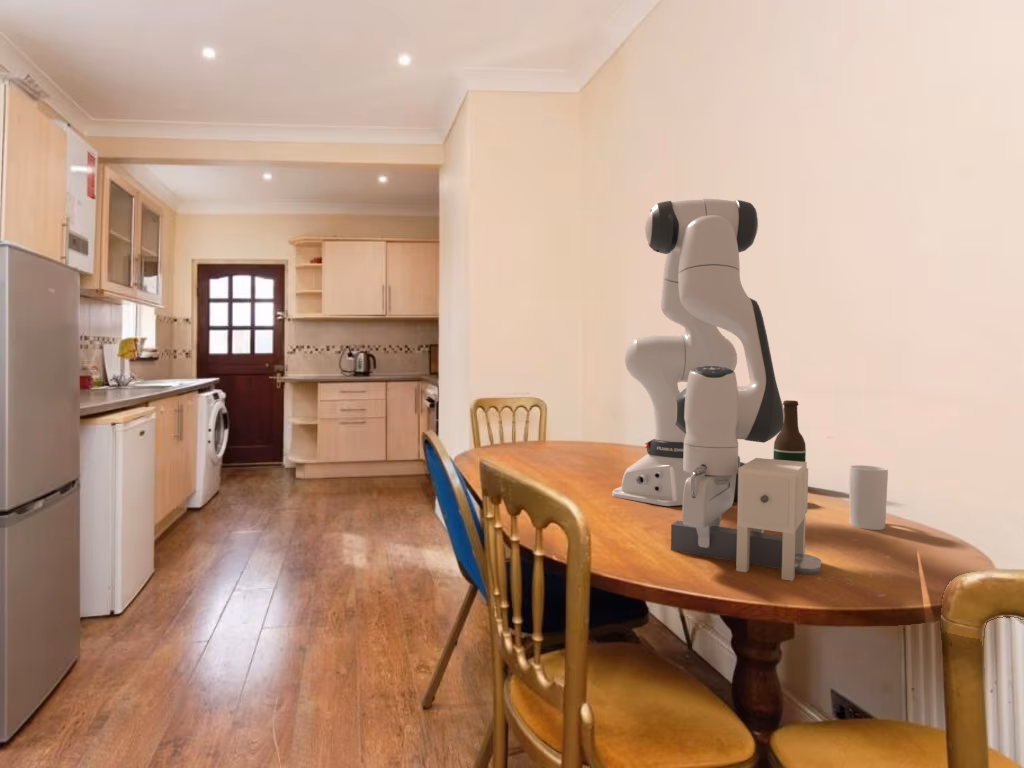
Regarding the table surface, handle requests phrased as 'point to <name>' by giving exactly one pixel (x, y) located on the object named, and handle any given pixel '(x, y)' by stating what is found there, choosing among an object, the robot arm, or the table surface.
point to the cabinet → (772, 508)
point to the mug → (867, 496)
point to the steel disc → (807, 564)
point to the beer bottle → (790, 436)
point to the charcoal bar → (728, 544)
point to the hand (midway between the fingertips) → (708, 543)
